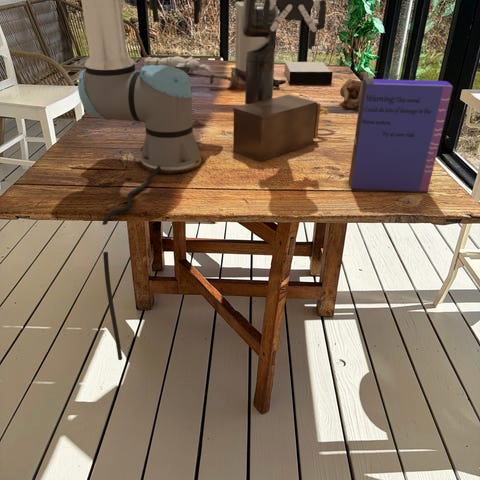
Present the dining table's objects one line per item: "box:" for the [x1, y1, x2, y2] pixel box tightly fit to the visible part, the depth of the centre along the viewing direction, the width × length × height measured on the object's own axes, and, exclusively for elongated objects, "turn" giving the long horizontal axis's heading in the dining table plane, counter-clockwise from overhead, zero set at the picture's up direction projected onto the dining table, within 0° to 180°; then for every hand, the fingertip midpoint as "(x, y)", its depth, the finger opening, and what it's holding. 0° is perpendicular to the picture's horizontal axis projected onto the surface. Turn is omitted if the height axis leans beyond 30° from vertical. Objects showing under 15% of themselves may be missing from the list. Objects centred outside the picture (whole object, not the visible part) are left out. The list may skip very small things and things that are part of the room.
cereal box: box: [348, 78, 454, 193], centre depth 106 cm, size 17×5×24 cm, turn 86°
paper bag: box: [234, 1, 265, 72], centre depth 210 cm, size 19×15×28 cm
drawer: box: [313, 102, 330, 140], centre depth 135 cm, size 26×9×10 cm, turn 133°
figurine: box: [209, 66, 287, 89], centre depth 190 cm, size 24×8×30 cm
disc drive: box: [284, 61, 333, 85], centre depth 207 cm, size 18×22×5 cm
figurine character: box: [175, 67, 190, 74], centre depth 187 cm, size 7×8×15 cm
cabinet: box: [232, 94, 318, 162], centre depth 131 cm, size 22×11×12 cm, turn 133°
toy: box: [143, 55, 212, 75], centre depth 212 cm, size 24×25×7 cm
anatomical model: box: [339, 71, 369, 110], centre depth 171 cm, size 13×9×15 cm
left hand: (176, 22), depth 151 cm, fingers open, 13 cm apart
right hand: (291, 48), depth 112 cm, fingers open, 8 cm apart
